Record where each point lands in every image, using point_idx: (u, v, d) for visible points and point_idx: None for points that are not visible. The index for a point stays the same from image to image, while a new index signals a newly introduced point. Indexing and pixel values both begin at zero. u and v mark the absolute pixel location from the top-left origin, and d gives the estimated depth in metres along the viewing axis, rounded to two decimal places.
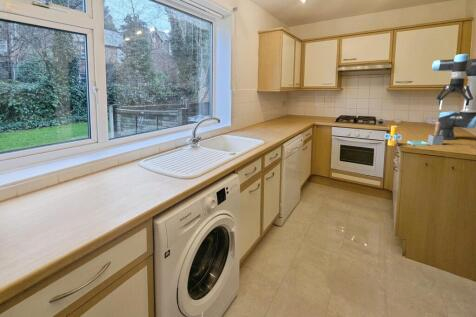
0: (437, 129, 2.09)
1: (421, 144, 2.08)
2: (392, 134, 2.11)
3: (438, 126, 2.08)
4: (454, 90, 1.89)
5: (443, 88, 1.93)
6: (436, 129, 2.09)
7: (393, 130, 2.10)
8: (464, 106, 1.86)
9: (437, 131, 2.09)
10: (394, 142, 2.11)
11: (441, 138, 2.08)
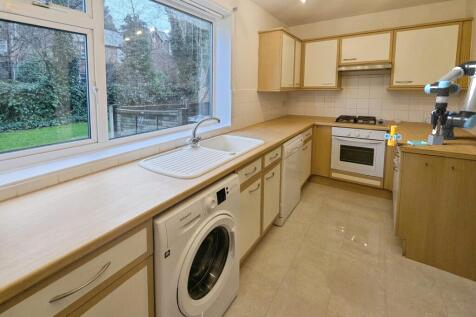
0: (437, 129, 2.09)
1: (421, 144, 2.08)
2: (392, 134, 2.11)
3: (438, 126, 2.08)
4: None
5: None
6: None
7: (393, 130, 2.10)
8: (433, 129, 2.11)
9: (437, 131, 2.09)
10: (394, 142, 2.11)
11: (441, 138, 2.08)
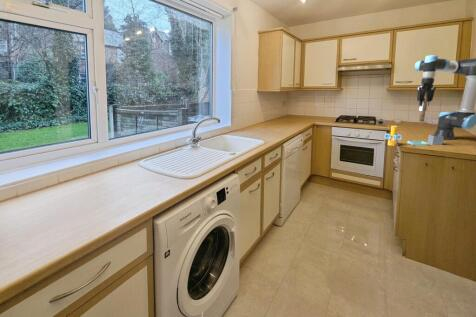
0: (424, 106, 2.04)
1: (421, 144, 2.08)
2: (392, 134, 2.11)
3: (425, 102, 2.03)
4: None
5: None
6: (423, 106, 2.05)
7: (393, 130, 2.10)
8: (420, 106, 2.07)
9: (424, 108, 2.04)
10: (394, 142, 2.11)
11: (441, 138, 2.08)
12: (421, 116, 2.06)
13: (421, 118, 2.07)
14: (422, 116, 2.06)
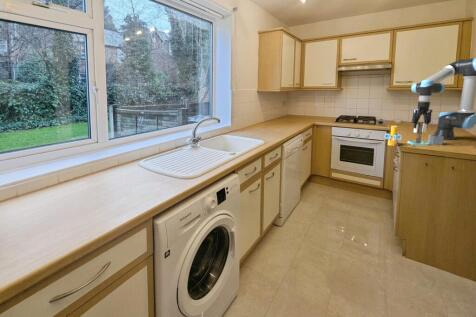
0: (419, 129, 2.09)
1: (421, 144, 2.08)
2: (392, 134, 2.11)
3: (420, 126, 2.08)
4: None
5: None
6: (418, 129, 2.09)
7: (393, 130, 2.10)
8: None
9: (419, 131, 2.09)
10: (394, 142, 2.11)
11: (441, 138, 2.08)
12: (417, 139, 2.11)
13: (417, 141, 2.11)
14: (418, 139, 2.11)
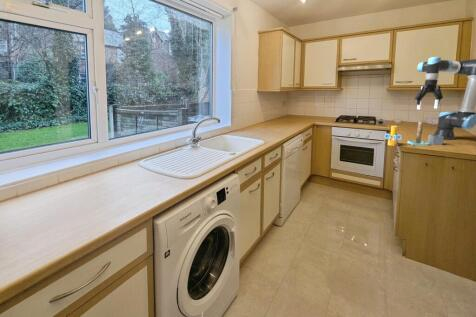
0: (419, 129, 2.09)
1: (421, 144, 2.08)
2: (392, 134, 2.11)
3: (420, 126, 2.08)
4: None
5: None
6: (418, 129, 2.09)
7: (393, 130, 2.10)
8: (418, 105, 2.07)
9: (419, 131, 2.09)
10: (394, 142, 2.11)
11: (441, 138, 2.08)
12: (417, 139, 2.11)
13: (417, 141, 2.11)
14: (418, 139, 2.11)
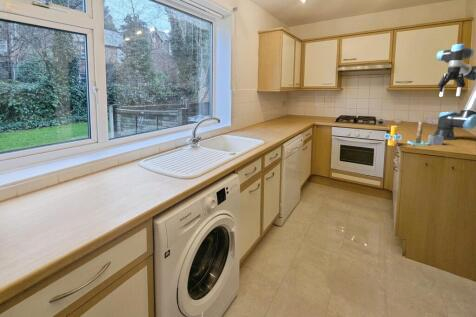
0: (420, 129, 2.09)
1: (421, 144, 2.08)
2: (392, 134, 2.11)
3: (421, 126, 2.08)
4: None
5: None
6: (419, 129, 2.09)
7: (393, 130, 2.10)
8: (440, 92, 2.08)
9: (420, 131, 2.09)
10: (394, 142, 2.11)
11: (441, 138, 2.08)
12: (417, 139, 2.11)
13: (417, 141, 2.11)
14: (418, 139, 2.11)
